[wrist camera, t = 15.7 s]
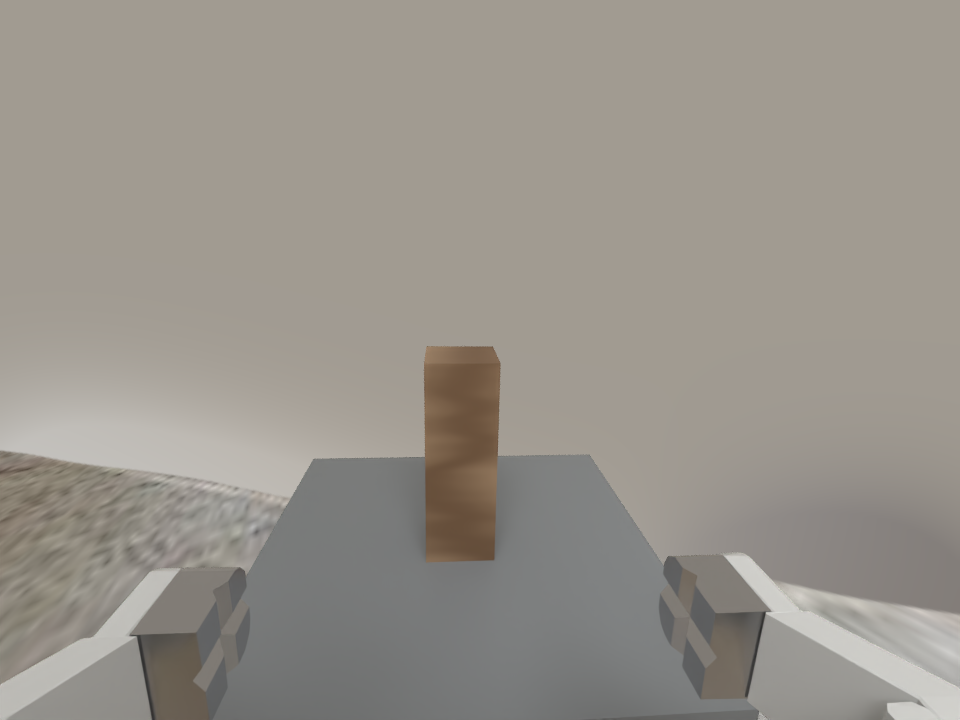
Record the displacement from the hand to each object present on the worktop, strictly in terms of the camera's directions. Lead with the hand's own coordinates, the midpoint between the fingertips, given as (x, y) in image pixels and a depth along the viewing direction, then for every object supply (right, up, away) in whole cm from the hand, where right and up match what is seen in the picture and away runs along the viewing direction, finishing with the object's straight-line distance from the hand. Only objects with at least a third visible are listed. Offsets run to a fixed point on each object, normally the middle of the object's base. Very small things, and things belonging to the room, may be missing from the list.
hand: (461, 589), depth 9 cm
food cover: (-1, -15, +16) cm, 22 cm away
